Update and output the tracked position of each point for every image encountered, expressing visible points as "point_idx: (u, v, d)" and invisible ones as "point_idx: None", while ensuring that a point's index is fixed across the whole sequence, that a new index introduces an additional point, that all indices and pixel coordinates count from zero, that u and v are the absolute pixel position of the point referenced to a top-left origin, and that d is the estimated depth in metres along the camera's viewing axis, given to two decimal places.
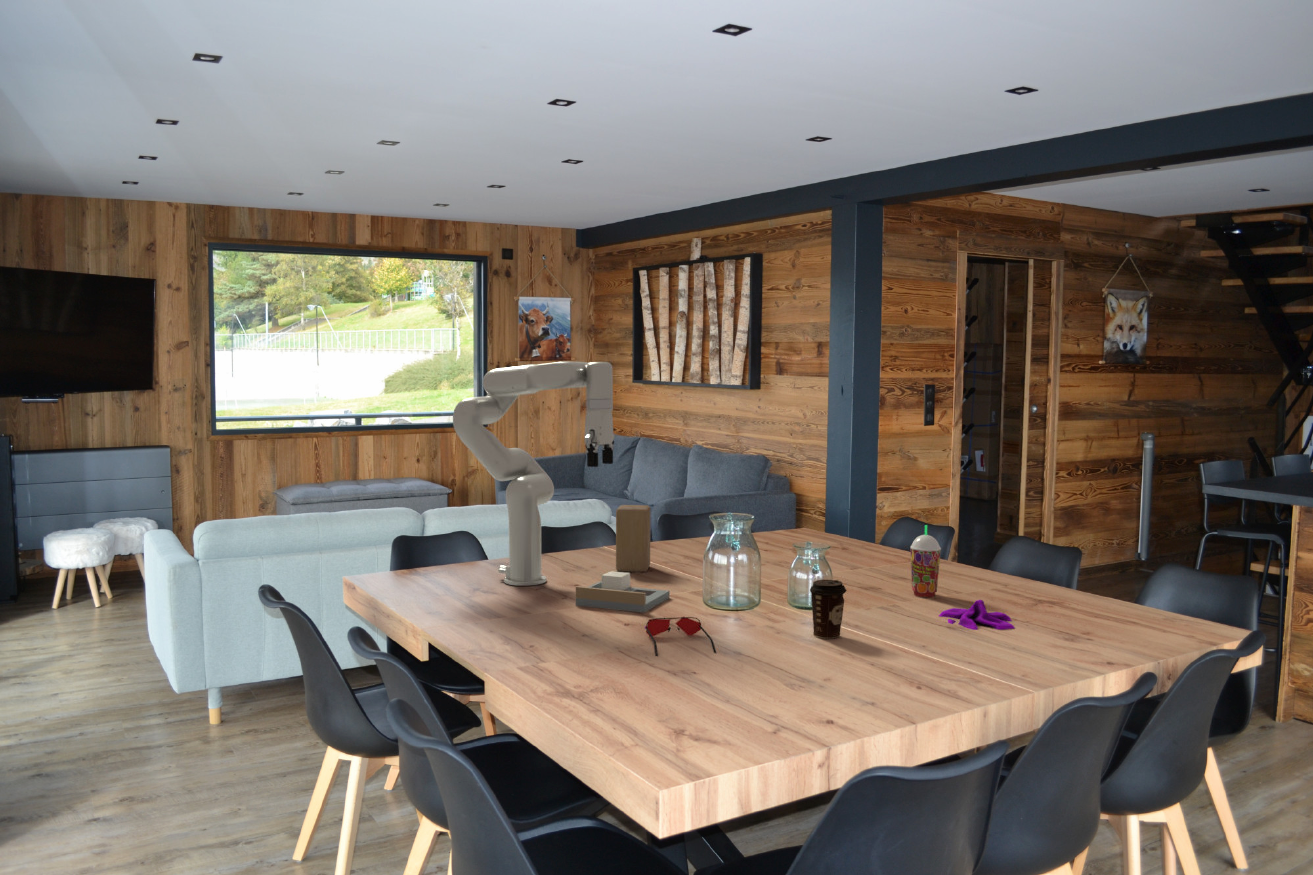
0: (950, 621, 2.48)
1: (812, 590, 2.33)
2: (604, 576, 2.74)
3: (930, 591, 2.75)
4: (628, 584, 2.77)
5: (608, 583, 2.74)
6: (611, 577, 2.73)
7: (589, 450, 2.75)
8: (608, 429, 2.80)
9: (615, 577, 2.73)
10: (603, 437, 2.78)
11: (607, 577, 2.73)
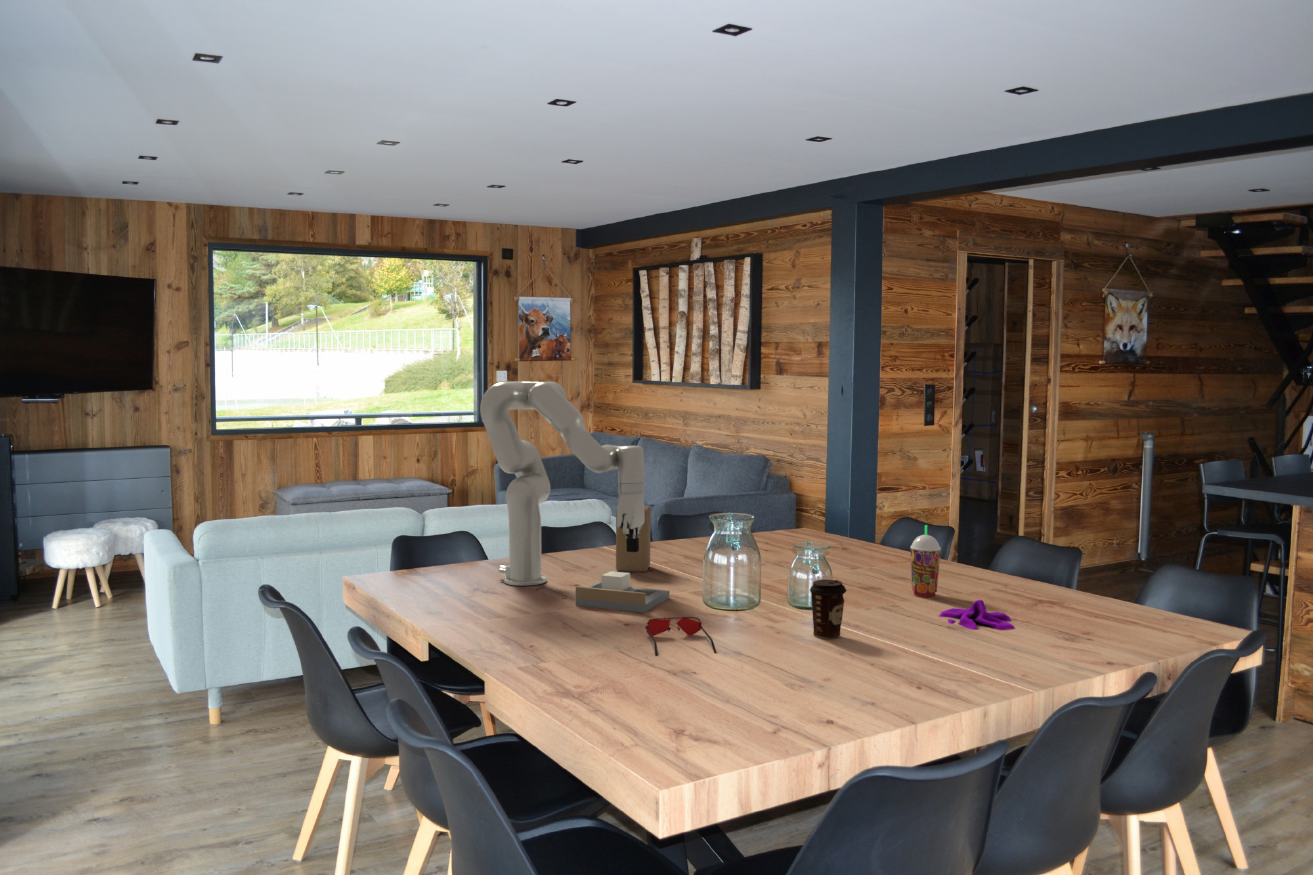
0: (950, 621, 2.48)
1: (812, 590, 2.33)
2: (604, 576, 2.74)
3: (930, 591, 2.75)
4: (628, 584, 2.77)
5: (608, 583, 2.74)
6: (611, 577, 2.73)
7: (628, 536, 2.82)
8: (640, 512, 2.83)
9: (615, 577, 2.73)
10: (635, 520, 2.81)
11: (607, 577, 2.73)
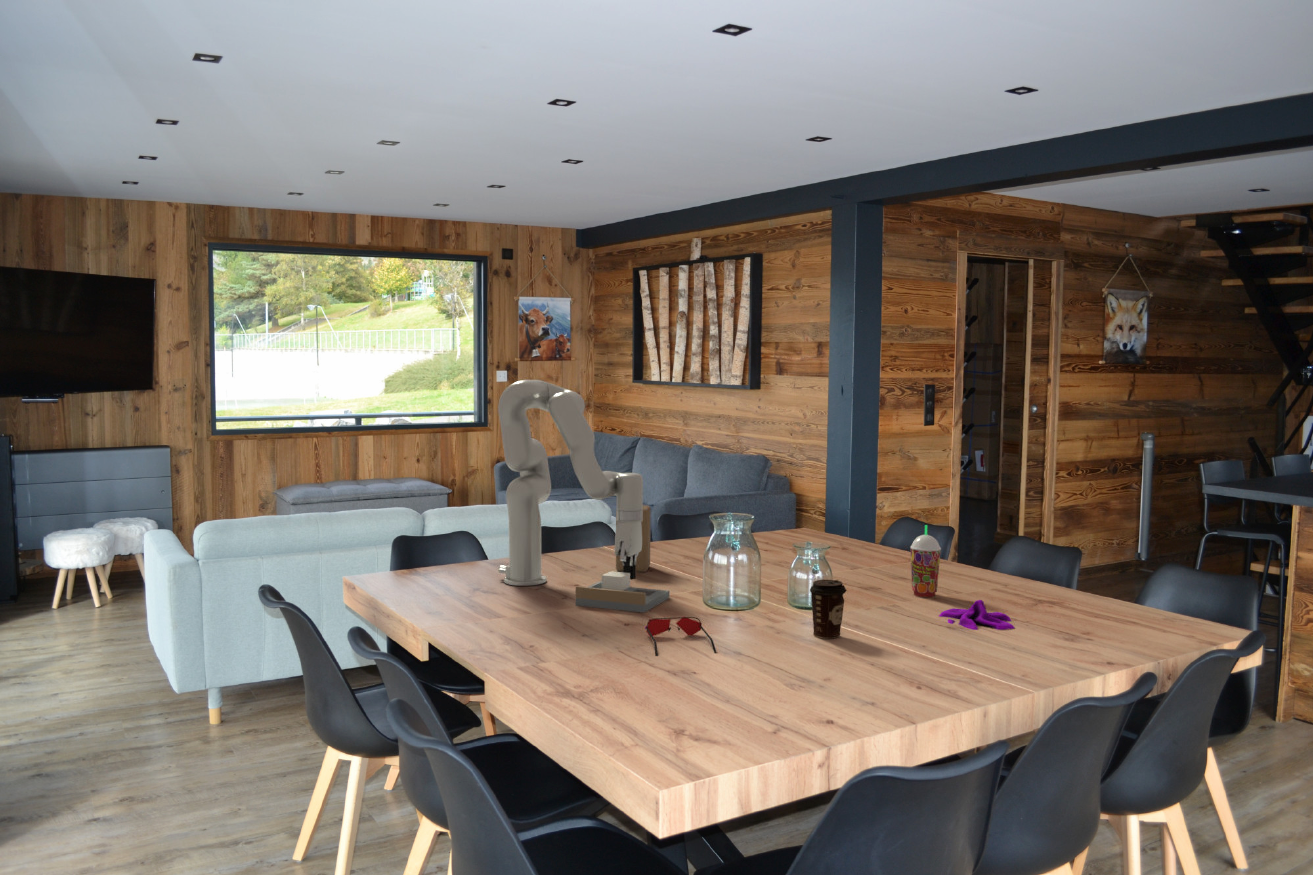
0: (950, 621, 2.48)
1: (812, 590, 2.33)
2: (604, 576, 2.74)
3: (930, 591, 2.75)
4: (628, 584, 2.77)
5: (608, 583, 2.74)
6: (611, 577, 2.73)
7: (625, 563, 2.82)
8: (638, 539, 2.83)
9: (615, 577, 2.73)
10: (633, 548, 2.81)
11: (607, 577, 2.73)
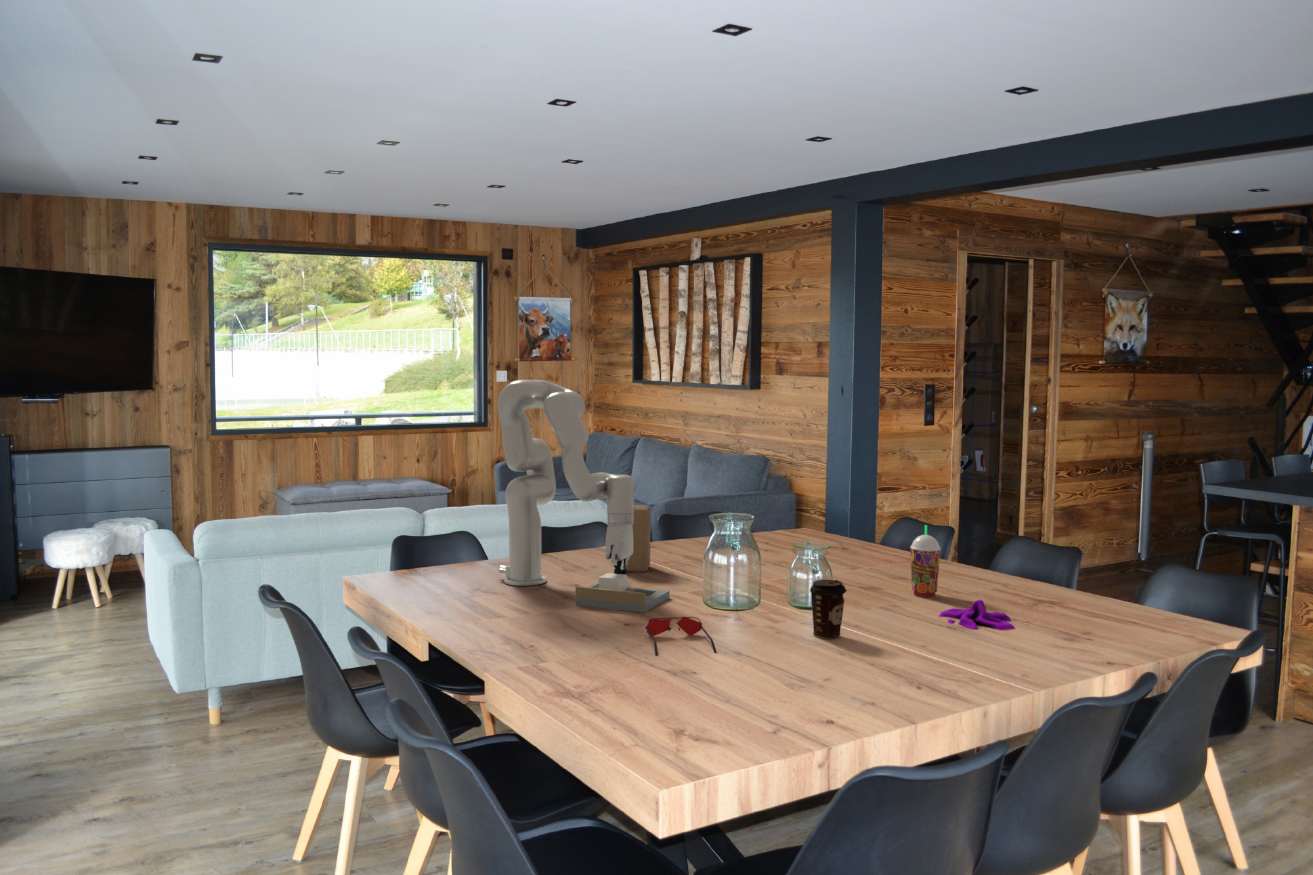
0: (950, 621, 2.48)
1: (812, 590, 2.33)
2: (601, 578, 2.71)
3: (930, 591, 2.75)
4: (625, 586, 2.74)
5: (605, 585, 2.71)
6: (608, 579, 2.71)
7: (616, 567, 2.76)
8: (629, 543, 2.77)
9: (612, 579, 2.70)
10: (624, 551, 2.75)
11: (604, 579, 2.71)
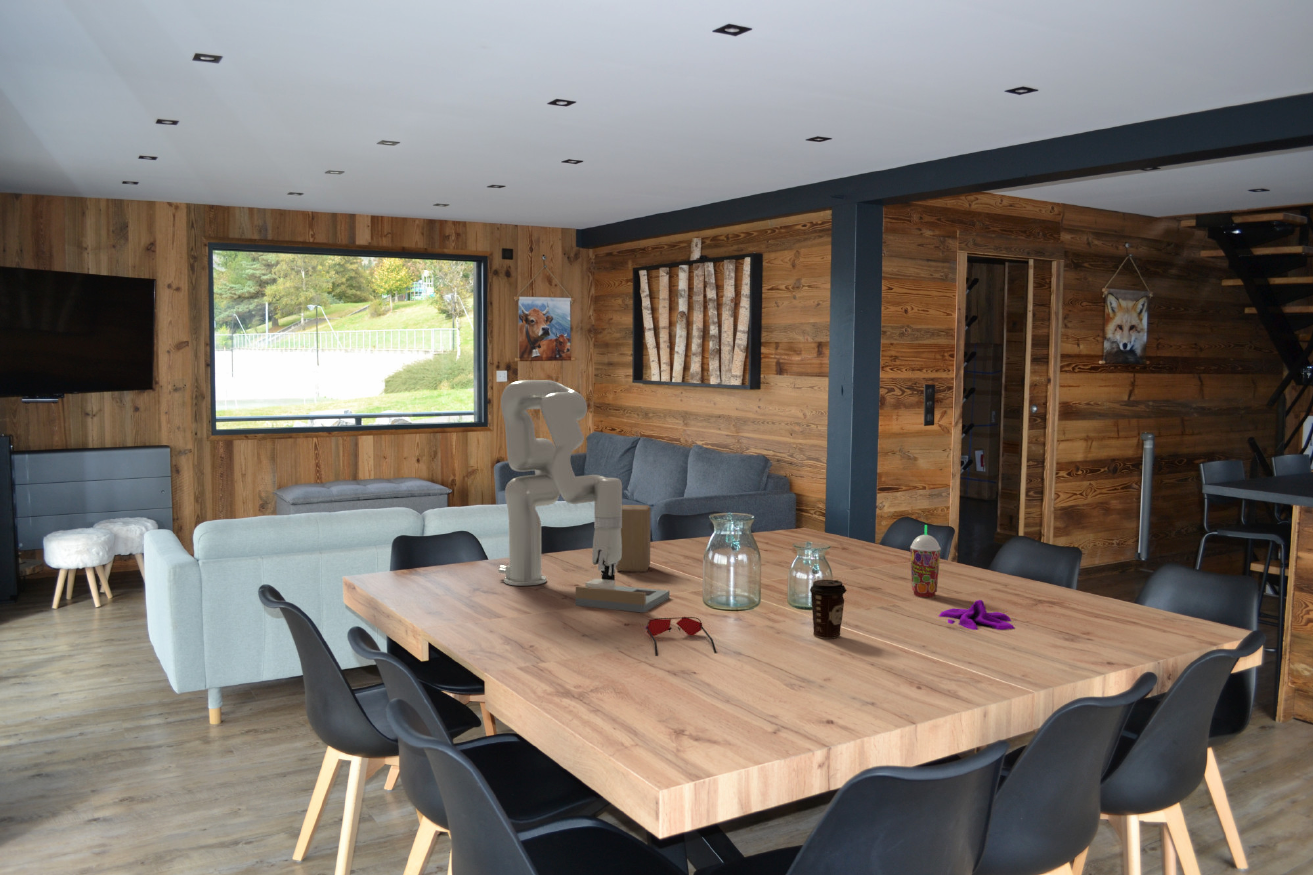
0: (950, 621, 2.48)
1: (812, 590, 2.33)
2: (588, 584, 2.64)
3: (930, 591, 2.75)
4: None
5: None
6: (595, 585, 2.63)
7: (604, 573, 2.69)
8: (617, 547, 2.70)
9: (599, 585, 2.63)
10: (612, 557, 2.67)
11: (591, 585, 2.64)
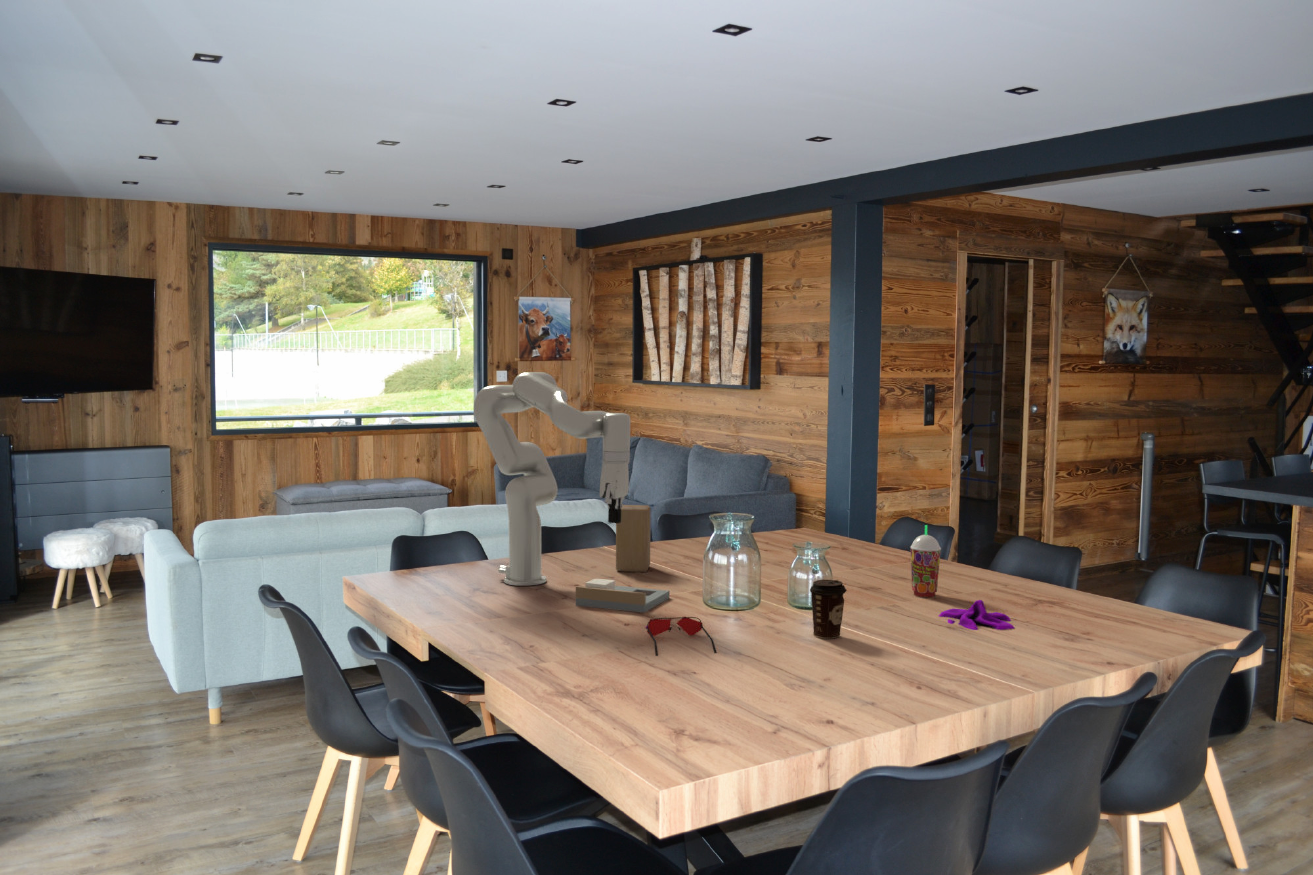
0: (950, 621, 2.48)
1: (812, 590, 2.33)
2: (588, 584, 2.64)
3: (930, 591, 2.75)
4: None
5: None
6: (595, 585, 2.63)
7: (611, 506, 2.73)
8: (624, 482, 2.74)
9: (599, 585, 2.63)
10: (619, 490, 2.71)
11: (591, 585, 2.64)
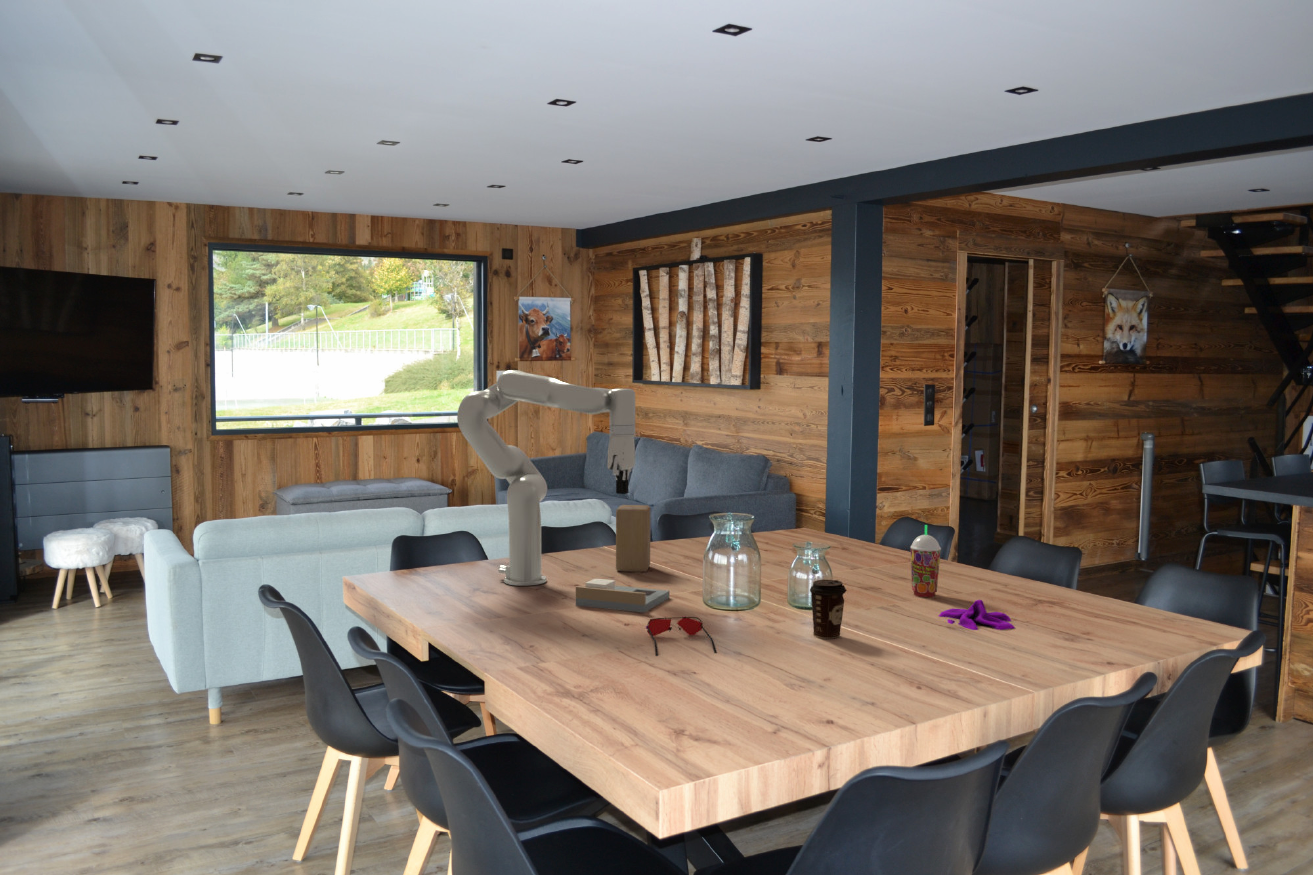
0: (950, 621, 2.48)
1: (812, 590, 2.33)
2: (588, 584, 2.64)
3: (930, 591, 2.75)
4: None
5: None
6: (595, 585, 2.63)
7: (618, 478, 2.86)
8: (630, 454, 2.87)
9: (599, 585, 2.63)
10: (626, 462, 2.84)
11: (591, 585, 2.64)
